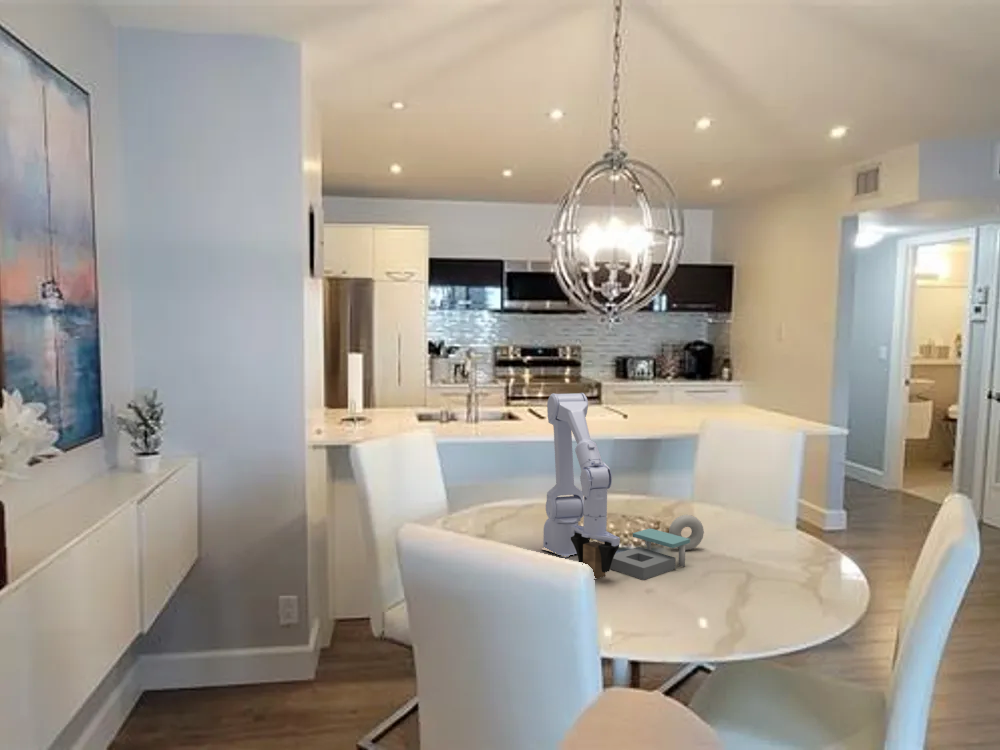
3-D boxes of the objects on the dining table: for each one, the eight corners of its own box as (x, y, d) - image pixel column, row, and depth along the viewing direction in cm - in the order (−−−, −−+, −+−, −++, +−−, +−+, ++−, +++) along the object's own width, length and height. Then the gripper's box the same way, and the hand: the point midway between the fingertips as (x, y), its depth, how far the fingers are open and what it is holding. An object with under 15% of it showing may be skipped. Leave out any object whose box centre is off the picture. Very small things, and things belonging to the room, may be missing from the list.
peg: (582, 575, 187) (583, 544, 187) (593, 571, 190) (594, 541, 189) (594, 579, 184) (595, 547, 184) (605, 576, 187) (606, 544, 186)
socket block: (606, 567, 193) (606, 556, 193) (638, 557, 201) (638, 546, 201) (643, 580, 184) (643, 568, 184) (675, 569, 192) (675, 557, 192)
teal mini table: (632, 558, 201) (632, 533, 200) (649, 553, 205) (650, 528, 205) (672, 571, 191) (672, 544, 190) (689, 565, 196) (690, 538, 195)
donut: (670, 552, 207) (671, 516, 206) (666, 548, 210) (667, 513, 209) (705, 551, 208) (706, 515, 207) (700, 547, 211) (701, 512, 211)
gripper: (563, 511, 189) (562, 563, 190) (606, 523, 178) (605, 578, 179) (582, 506, 193) (581, 558, 194) (625, 518, 182) (624, 572, 183)
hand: (594, 567), depth 187 cm, fingers open, 7 cm apart
